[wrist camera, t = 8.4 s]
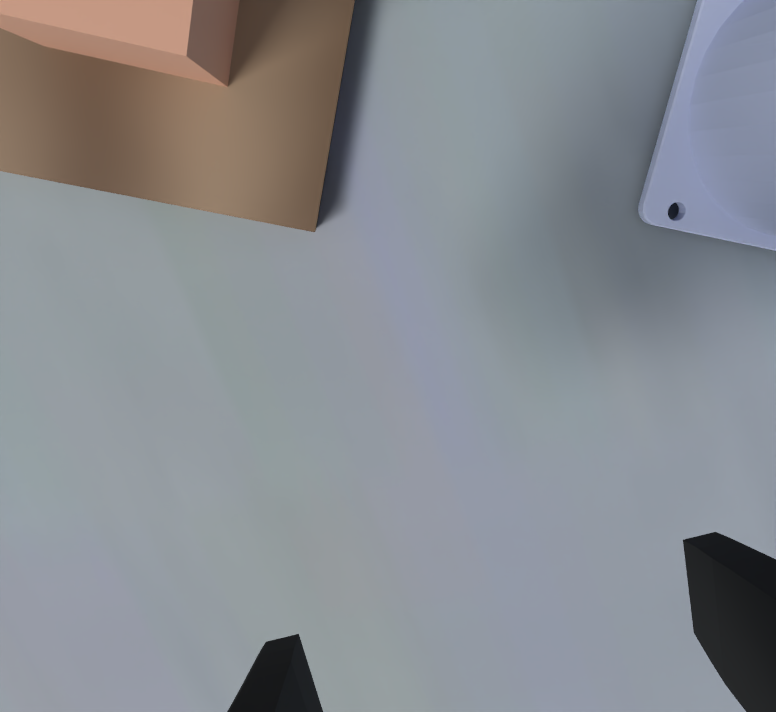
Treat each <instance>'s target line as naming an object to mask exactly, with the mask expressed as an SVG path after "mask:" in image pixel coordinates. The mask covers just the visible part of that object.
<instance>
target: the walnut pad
mask: <svg viewBox="0 0 776 712" xmlns="http://www.w3.org/2000/svg"><path fill="white" fill-rule="evenodd" d="M354 4H355V0H240V1H239V8H238V15H237V23H236V30H235V37H234V45H233V52H232V59H231V67H230V74H229V81H228V87H225V86H220V85H216V84H211V83H207V82H202V81H198V80H193V79H189V78H184V77H180V76H175V75H171V74H166V73H162V72H157V71H153V70H148V69H144V68H139V67H135V66H130V65H126V64H121V63H117V62H113V61H108V60H104V59H99V58H95V57H90V56H86V55H81V54H77V53H72V52H68V51H63V50H59V49H54V48H50V47H45V46H42V45H40V44H37V43H35V42H33V41H30V40H28V39H25V38H23V37H21V36H18V35H16V34H13V33H11V32H9V31H6V30H4V29H1V28H0V171H3V172H8V173H14V174H19V175H24V176H29V177H34V178H39V179H44V180H50V181H55V182H60V183H65V184H70V185H75V186H80V187H85V188H91V189H96V190H101V191H106V192H111V193H116V194H121V195H127V196H132V197H137V198H142V199H147V200H152V201H157V202H163V203H168V204H173V205H178V206H183V207H188V208H193V209H198V210H204V211H209V212H214V213H219V214H224V215H229V216H234V217H240V218H245V219H250V220H255V221H260V222H265V223H270V224H275V225H281V226H286V227H291V228H296V229H301V230H306V231H311V232H315V230H316V225H317V220H318V214H319V208H320V202H321V196H322V190H323V185H324V179H325V173H326V167H327V161H328V155H329V150H330V144H331V138H332V132H333V126H334V120H335V115H336V109H337V103H338V97H339V91H340V85H341V80H342V74H343V68H344V62H345V56H346V50H347V45H348V39H349V33H350V27H351V21H352V15H353V9H354Z"/></svg>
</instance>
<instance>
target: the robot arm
mask: <svg viewBox="0 0 776 712" xmlns="http://www.w3.org/2000/svg"><path fill="white" fill-rule="evenodd" d="M673 203H677V205H678V207H679V213H678V215H677V216H676V217H675V218H674V219H672V220H671V219H670V218H669V216H668V209H669V207H670V205H672V204H673ZM638 212H639V215H640V218H641V219H642V220H643V221H644V222H645V223H648V224H650V225H654V226H659V227H664V228H669V229H674V230H678V231H683V232H688V233H693V234H697V235H702V236H707V237H712V238H717V239H721V240H726V241H731V242H736V243H741V244H745V245H750V246H755V247H760V248H764V249H769V250H774V251H776V0H697V3H696V7H695V10H694V14H693V17H692V21H691V24H690V28H689V31H688V35H687V38H686V41H685V45H684V48H683V52H682V55H681V59H680V62H679V66H678V69H677V73H676V76H675V80H674V83H673V87H672V90H671V94H670V97H669V101H668V104H667V108H666V111H665V115H664V118H663V122H662V125H661V129H660V132H659V136H658V139H657V143H656V146H655V150H654V153H653V156H652V160H651V163H650V167H649V170H648V174H647V177H646V181H645V184H644V188H643V191H642V195H641V198H640V202H639V208H638ZM683 544H684V552H685V561H686V569H687V578H688V586H689V595H690V603H691V612H692V620H693V629H694V634H695V635H696V637H697V639H698V640H699V642H700V644H701V645H702V647H703V649H704V651H705V652H706V654H707V656H708V657H709V659H710V661H711V662H712V664H713V665H714V667H715V669H716V670H717V672H718V673H719V675H720V677H721V678H722V680H723V681H724V683H725V685H726V686H727V687H728V688H729V690H730V691H731V692H732V694H733V695H734V696H735V698H736V699H737V700H738V701H739V703H740V704H741V705H742V707H743V708H744V709H745V710H746V712H776V559H774V558H771V557H769V556H767V555H765V554H763V553H761V552H759V551H757V550H754V549H752V548H750V547H748V546H746V545H744V544H742V543H739V542H737V541H735V540H733V539H731V538H728V537H726V536H724V535H721V534H719V533H717V532H713V533H709V534H705V535H701V536H697V537H693V538H689V539H685V540H683ZM227 712H323V710H322V707H321V704H320V701H319V698H318V694H317V691H316V688H315V685H314V682H313V678H312V675H311V672H310V669H309V666H308V662H307V659H306V656H305V653H304V650H303V646H302V643H301V640H300V637H299V634H297V635H292V636H288V637H284V638H280V639H276V640H272V641H268V642H266V643H265V644H264V646H263V647H262V649H261V651H260V653H259V654H258V656H257V658H256V660H255V662H254V664H253V666H252V668H251V669H250V671H249V673H248V675H247V677H246V679H245V681H244V683H243V684H242V686H241V688H240V690H239V692H238V694H237V695H236V697H235V699H234V701H233V703H232V704H231V706H230V708H229V710H228V711H227Z"/></svg>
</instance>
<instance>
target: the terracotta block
mask: <svg viewBox="0 0 776 712" xmlns="http://www.w3.org/2000/svg"><path fill="white" fill-rule="evenodd" d="M239 1H240V0H0V28H1V29H4V30H6V31H9V32H11V33H13V34H16V35H18V36H21V37H23V38H25V39H28V40H30V41H33V42H35V43H37V44H40V45H42V46H45V47H50V48H54V49H59V50H63V51H68V52H72V53H77V54H81V55H86V56H90V57H95V58H99V59H104V60H108V61H113V62H117V63H121V64H126V65H130V66H135V67H139V68H144V69H148V70H153V71H157V72H162V73H166V74H171V75H175V76H180V77H184V78H189V79H193V80H198V81H202V82H207V83H211V84H216V85H220V86H225V87H228V81H229V74H230V67H231V59H232V52H233V45H234V37H235V30H236V23H237V15H238V8H239Z"/></svg>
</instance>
